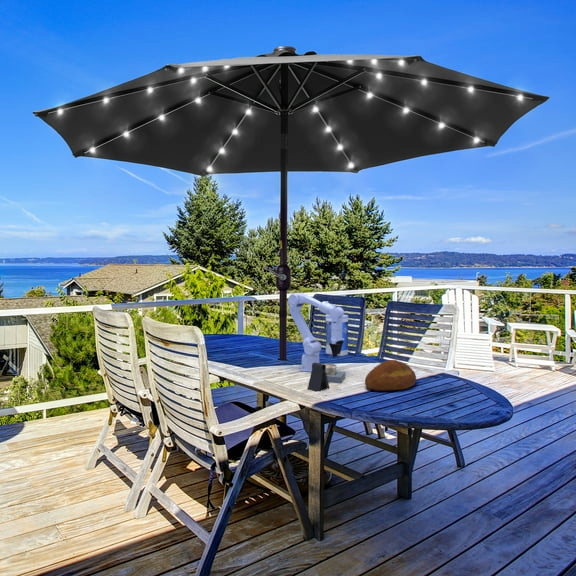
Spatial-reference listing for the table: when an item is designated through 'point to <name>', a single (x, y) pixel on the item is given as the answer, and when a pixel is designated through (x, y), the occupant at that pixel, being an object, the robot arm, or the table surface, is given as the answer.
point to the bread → (390, 376)
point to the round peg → (330, 365)
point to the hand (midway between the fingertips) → (336, 355)
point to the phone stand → (318, 377)
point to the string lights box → (344, 335)
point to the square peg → (331, 370)
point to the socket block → (336, 377)
